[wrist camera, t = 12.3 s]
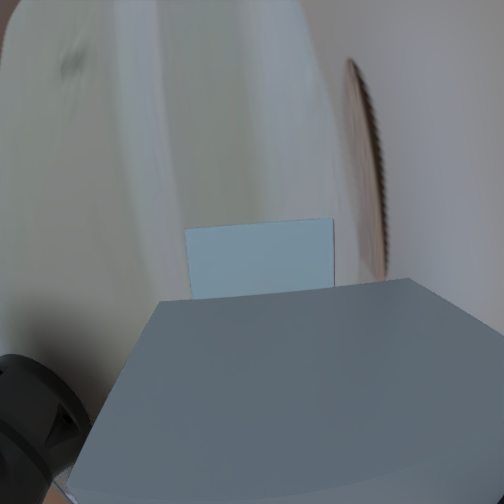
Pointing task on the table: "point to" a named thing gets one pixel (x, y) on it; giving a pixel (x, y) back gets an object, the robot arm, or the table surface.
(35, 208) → the table surface
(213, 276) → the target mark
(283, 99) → the table surface
